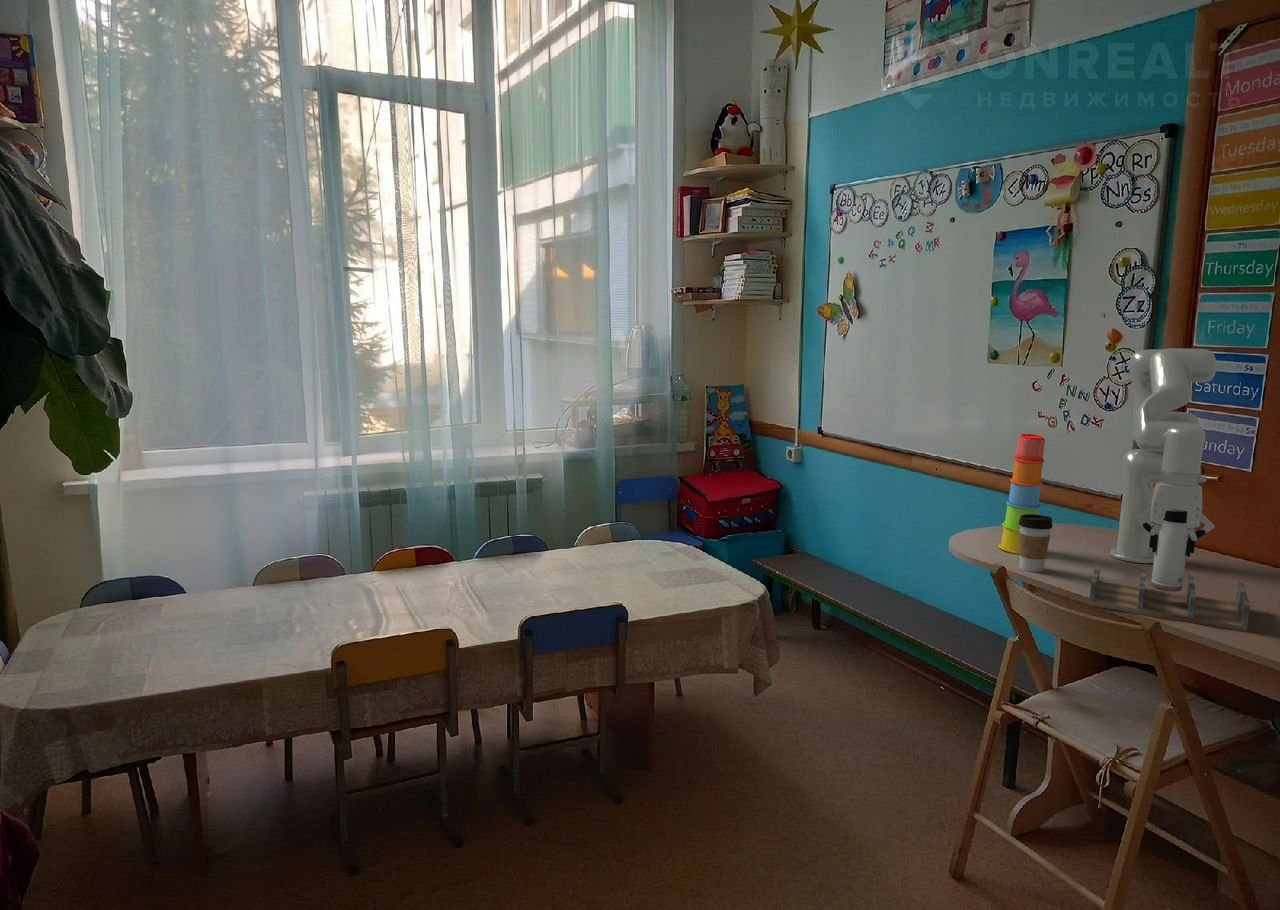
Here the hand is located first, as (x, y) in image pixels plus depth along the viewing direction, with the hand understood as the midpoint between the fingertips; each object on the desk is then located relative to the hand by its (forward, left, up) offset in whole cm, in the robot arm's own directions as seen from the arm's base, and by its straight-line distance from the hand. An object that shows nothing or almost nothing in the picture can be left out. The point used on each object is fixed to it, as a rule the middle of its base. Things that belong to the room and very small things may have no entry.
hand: (1170, 552), depth 198 cm
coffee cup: (-15, -31, -14) cm, 37 cm away
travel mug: (0, 0, -9) cm, 9 cm away
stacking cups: (-33, -37, -14) cm, 51 cm away
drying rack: (0, 0, -14) cm, 14 cm away
